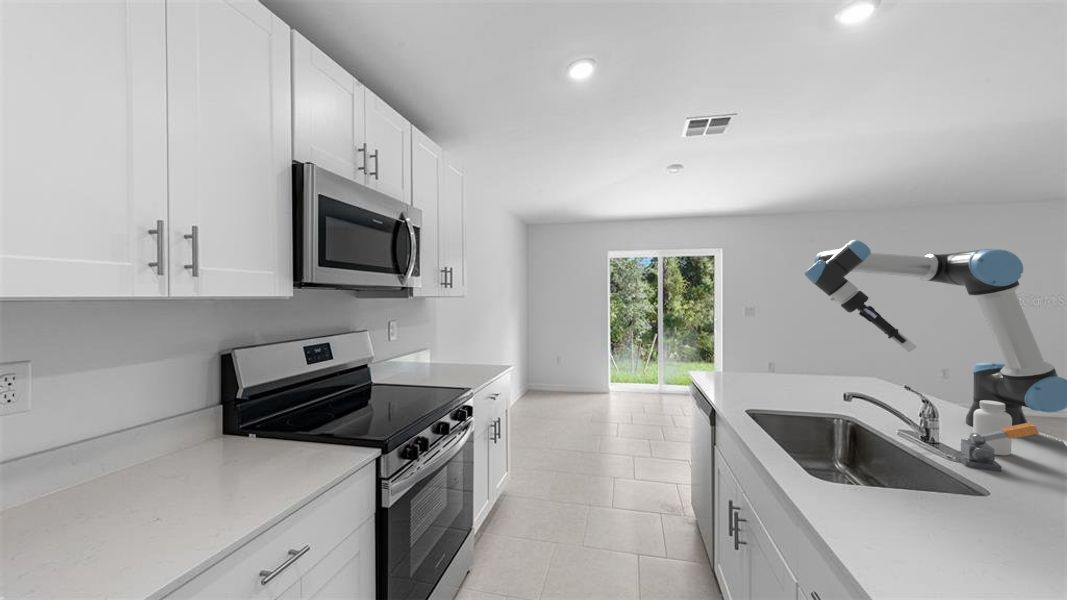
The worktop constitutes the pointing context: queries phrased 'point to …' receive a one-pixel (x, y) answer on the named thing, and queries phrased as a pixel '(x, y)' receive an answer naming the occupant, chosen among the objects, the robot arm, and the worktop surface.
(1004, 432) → the valve lever
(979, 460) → the valve body
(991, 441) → the pill bottle
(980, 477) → the worktop surface
